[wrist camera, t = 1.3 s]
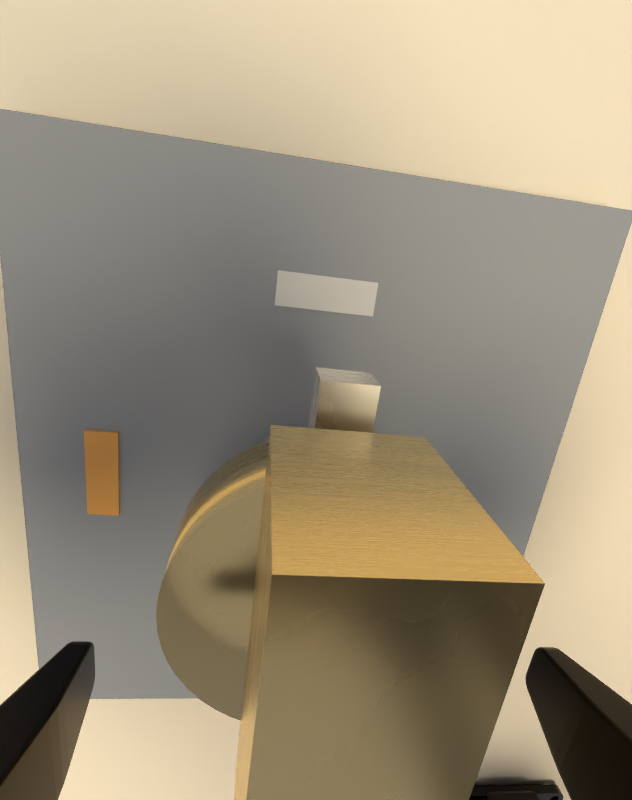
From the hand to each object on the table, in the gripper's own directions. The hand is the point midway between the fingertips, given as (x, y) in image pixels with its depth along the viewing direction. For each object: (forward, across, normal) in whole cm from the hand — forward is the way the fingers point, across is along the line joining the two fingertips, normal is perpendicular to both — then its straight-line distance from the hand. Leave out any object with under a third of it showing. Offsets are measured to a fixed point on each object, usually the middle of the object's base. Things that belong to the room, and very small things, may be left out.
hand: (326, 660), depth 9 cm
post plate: (+8, 0, 0) cm, 8 cm away
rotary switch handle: (+3, 0, 0) cm, 3 cm away
